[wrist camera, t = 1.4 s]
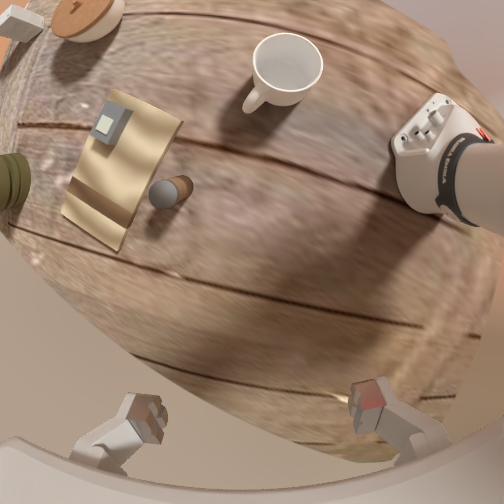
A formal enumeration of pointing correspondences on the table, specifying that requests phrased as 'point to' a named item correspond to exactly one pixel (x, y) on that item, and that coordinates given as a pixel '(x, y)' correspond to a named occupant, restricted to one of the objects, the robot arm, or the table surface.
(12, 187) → the piston
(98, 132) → the block
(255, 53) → the mug
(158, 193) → the peg
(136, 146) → the plank
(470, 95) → the table surface
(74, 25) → the lidded bowl
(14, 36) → the skincare box
